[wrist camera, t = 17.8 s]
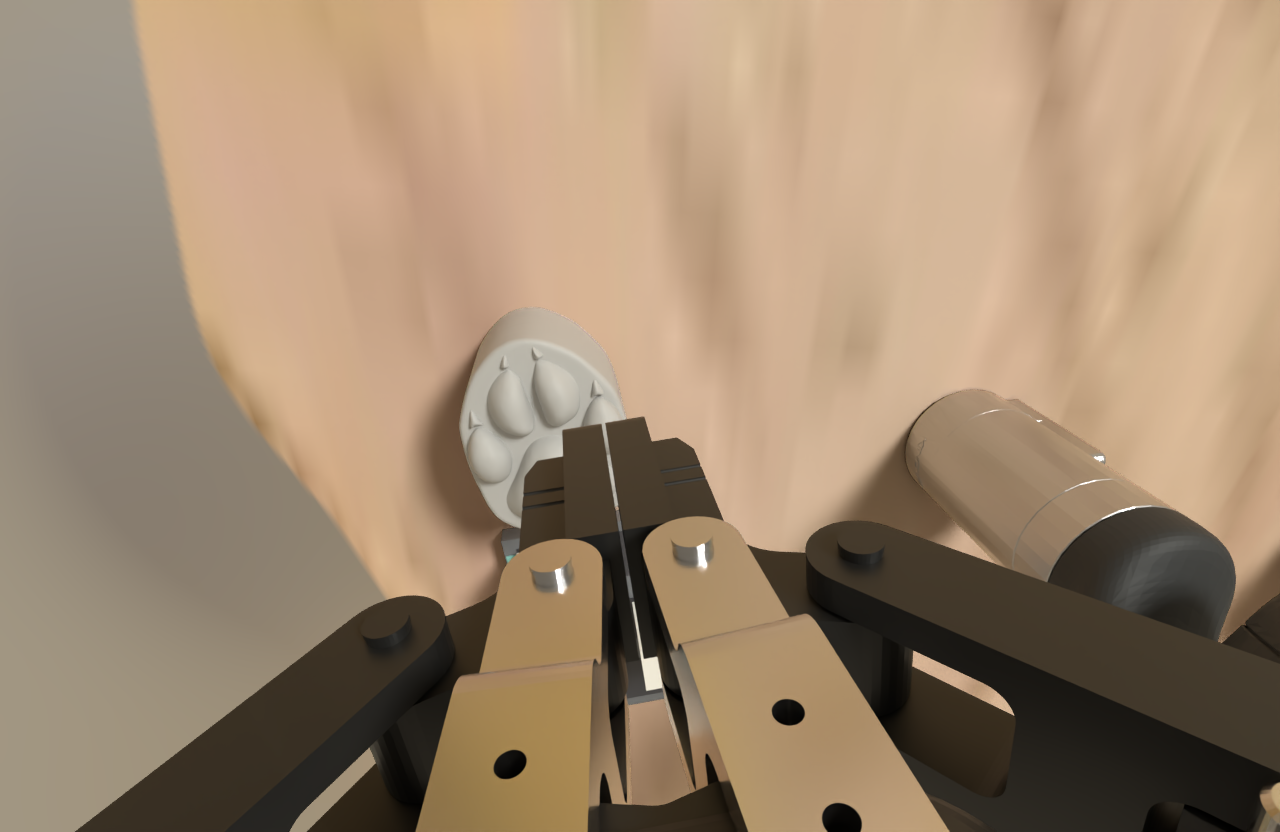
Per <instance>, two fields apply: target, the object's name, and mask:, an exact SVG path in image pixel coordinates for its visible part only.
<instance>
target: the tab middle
mask: <svg viewBox="0 0 1280 832" xmlns="http://www.w3.org/2000/svg"><path fill="white" fill-rule="evenodd" d="M632 605H633V612H634V618H635V624H636V630H637V636H638V643H639V649H640V655H641V661H642V667H643V673H644V680H645V686H646V691H648V690H654V689H659V688H663V687H662V681H661V674H660V669H659V664H658V658H657V657H653V658H647V659H644V658H643V652H642V646H641V640H640V634H639V628H638V622H637V616H636V610H635V604H634V602H632Z"/></svg>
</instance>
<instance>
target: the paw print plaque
mask: <svg viewBox="0 0 1280 832" xmlns="http://www.w3.org/2000/svg"><path fill="white" fill-rule="evenodd" d="M625 419H627V418H626V414H625V410H624V406H623V402H622V397H621V393H620V389H619V385H618V382H617V378H616V375H615V372H614V369H613V366H612V364H611V361H610V359H609V357H608V355H607V353H606V352H605V350H604V349H603V348H602V346H601V345H600V344H599V343H598V342H597V341H596V340H595V339H594V338H593V337H592V336H591V335H590V334H589V333H588V332H586V331H585V330H584V329H583V328H582V327H581V326H579V325H578V324H577V323H576V322H574V321H573V320H571V319H569V318H567V317H565V316H563V315H561V314H559V313H556V312H554V311H551V310H547V309H544V308H538V307H525V308H520V309H516V310H514V311H511V312H509V313H507V314H506V315H504V316H503V317H502V318H500V319H499V320H498V321H497V322H496V323H495V324H494V326H493V327H492V328H491V329H490V330H489V332H488V333H487V335H486V336H485V338H484V339H483V341H482V343H481V345H480V347H479V350H478V353H477V356H476V359H475V363H474V366H473V369H472V372H471V376H470V379H469V382H468V385H467V389H466V392H465V396H464V400H463V404H462V409H461V414H460V421H459V431H460V437H461V441H462V445H463V449H464V453H465V456H466V459H467V462H468V465H469V467H470V470H471V473H472V475H473V477H474V479H475V482H476V483H477V485H478V487H479V489H480V491H481V493H482V495H483V497H484V499H485V501H486V503H487V505H488V506H489V508H490V509H491V511H492V512H493V513H494V514H495V516H496V517H497V518H499V519H500V520H502V521H503V522H505V523H507V524H509V525H511V526H514V527H516V528H520V529H521V516H522V510H523V509H522V503H523V497H524V495H523V489H524V477H525V475H526V474H527V473H528V472H529V470H530V469H531V468H532V467H533V465H534V464H535V463H536V461H538V460H544V459H550V458H556V457H562V456H563V440H562V430H564V429H570V428H577V427H583V426H589V425H595V424H602V430H603V436H604V442H605V448H606V454H607V460H608V467H609V473H610V479H611V485H612V491H613V497H614V504H615V507H617V506H618V501H617V495H616V488H615V482H614V476H613V470H612V463H611V457H610V451H609V445H608V438H607V432H606V426H605V423H607V422H613V421H619V420H625Z"/></svg>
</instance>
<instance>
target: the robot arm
mask: <svg viewBox="0 0 1280 832" xmlns="http://www.w3.org/2000/svg"><path fill="white" fill-rule="evenodd" d="M605 426H606V432H607V438H608V445H609V451H610V457H611V463H612V470H613V476H614V482H615V488H616V495H617V501H618V507H619V513H620V520H621V526H622V532H623V538H624V544H625V550H626V556H627V562H628V568H629V574H630V580H631V586H632V592H633V598H634V604H635V610H636V616H637V622H638V628H639V634H640V640H641V646H642V652H643V658H644V659H647V658H653V657H657V658H658V664H659V669H660V674H661V681H662V687H663V694H664V700H665V705H666V708H667V712H668V715H669V719H670V722H671V726H672V729H673V733H674V736H675V740H676V743H677V746H678V750H679V753H680V757H681V760H682V764H683V767H684V771H685V774H686V778H687V781H688V785H689V788H690V791H691V793H690V794H688V795H686V796H684V797H681V798H679V799H677V800H675V801H673V802H670V803H668V804H664V805H659V806H644V805H632V791H631V762H630V732H629V708H628V702H627V696H626V693H627V689H628V674H627V667H626V663H627V662H632V661H638V660H639V655H638V648H637V642H636V636H635V629H634V623H633V617H632V610H631V604H630V598H629V592H628V585H627V579H626V573H625V566H624V560H623V554H622V547H621V541H620V535H619V528H618V522H617V516H616V510H615V504H614V497H613V491H612V485H611V479H610V473H609V467H608V460H607V454H606V448H605V442H604V436H603V430H602V424H595V425H589V426H583V427H577V428H570V429H564V430H562V440H563V456H562V457H556V458H550V459H544V460H538V461H536V463H535V464H534V465H533V467H532V468H531V469H530V470H529V472H528V473H527V474H526V475H525V477H524V489H523V495H524V497H523V503H522V509H523V510H522V516H521V530H520V543H519V553H518V554H517V555H516V556H515V557H513V558H512V559H511V560H510V561H509V562H508V564H507V565H506V566H505V568H504V570H503V572H502V575H501V579H500V584H499V588H498V592H497V593H495V594H494V595H492V596H491V597H489V598H487V599H486V600H484V601H482V602H480V603H478V604H476V605H473V606H471V607H468V608H466V609H463V610H461V611H458V612H456V613H453V614H451V615H448V616H445V613H444V610H443V608H442V607H441V605H440V604H439V603H438V602H436V601H435V600H433V599H431V598H427V597H424V596H402V597H396V598H392V599H388V600H386V601H383V602H380V603H377V604H375V605H373V606H371V607H369V608H367V609H365V610H364V611H362V612H361V613H359V614H358V615H356V616H355V617H353V618H352V619H351V620H349V621H348V622H347V623H346V624H344V625H343V626H342V627H340V628H339V629H338V630H336V631H335V632H334V633H332V634H331V635H330V636H329V637H327V638H326V639H325V640H323V641H322V642H321V643H319V644H318V645H317V646H316V647H314V648H313V649H312V650H310V651H309V652H308V653H307V654H305V655H304V656H303V657H301V658H300V659H299V660H297V661H296V662H295V663H294V664H292V665H291V666H290V667H288V668H287V669H286V670H284V671H283V672H282V673H280V674H279V675H278V676H277V677H275V678H274V679H273V680H271V681H270V682H269V683H267V684H266V685H265V686H264V687H262V688H261V689H260V690H259V691H257V692H256V693H255V694H253V695H252V696H251V697H249V698H248V699H247V700H245V701H244V702H243V703H242V704H240V705H239V706H238V707H236V708H235V709H234V710H233V711H231V712H230V713H229V714H227V715H226V716H225V717H223V718H222V719H221V720H220V721H218V722H217V723H216V724H214V725H213V726H212V727H210V728H209V729H208V730H206V731H205V732H204V733H203V734H201V735H200V736H199V737H197V738H196V739H195V740H194V741H192V742H191V743H190V744H188V745H187V746H186V747H184V748H183V749H182V750H180V751H179V752H178V753H177V754H175V755H174V756H173V757H171V758H170V759H169V760H167V761H166V762H165V763H164V764H162V765H161V766H160V767H158V768H157V769H156V770H154V771H153V772H152V773H151V774H149V775H148V776H147V777H145V778H144V779H143V780H142V781H140V782H139V783H138V784H136V785H135V786H134V787H133V788H131V789H130V790H129V791H127V792H126V793H125V794H123V795H122V796H121V797H119V798H118V799H117V800H116V801H114V802H113V803H112V804H110V805H109V806H108V807H107V808H105V809H104V810H103V811H101V812H100V813H99V814H97V815H96V816H95V817H93V818H92V819H91V820H90V821H88V822H87V823H86V824H84V825H83V826H82V827H80V828H79V829H78V830H77V831H75V832H289V831H290V829H291V828H292V826H293V824H294V823H295V821H296V819H297V818H298V817H299V815H300V814H301V813H302V812H303V811H304V810H305V809H306V808H307V807H308V806H309V805H310V804H311V803H312V802H313V801H314V800H315V799H316V798H317V797H318V796H319V795H320V794H321V793H322V792H323V791H324V790H325V789H326V788H327V787H328V786H330V784H332V783H333V782H334V781H335V780H336V779H337V778H338V777H339V776H340V775H341V774H342V773H343V772H344V771H345V770H346V769H347V768H348V767H349V766H350V765H351V764H352V763H353V762H355V761H356V760H357V759H358V757H360V756H361V755H362V754H363V753H364V752H365V751H366V750H367V749H368V748H369V747H370V750H371V752H372V754H373V757H374V759H375V762H376V764H375V765H374V766H373V767H372V768H371V769H370V770H369V771H368V772H367V773H366V774H365V775H364V776H363V777H362V778H361V779H360V780H359V781H357V783H355V785H353V786H352V788H351V789H349V790H348V791H347V792H346V793H345V794H344V795H343V796H342V797H341V798H340V799H339V800H338V802H337V803H335V804H334V805H333V806H332V807H331V808H330V809H329V810H328V811H327V812H326V813H325V814H324V815H323V816H322V817H321V818H320V819H319V820H318V821H317V822H316V823H315V824H314V825H313V826H312V827H311V828H310V829H309V830H308V831H307V832H1280V594H1279V595H1277V596H1276V597H1274V598H1273V599H1272V600H1270V601H1269V602H1268V603H1266V604H1265V605H1264V606H1263V607H1261V608H1260V609H1259V610H1258V611H1257V612H1256V613H1255V614H1253V615H1252V616H1251V617H1250V618H1249V619H1248V620H1247V621H1246V625H1241V626H1240V627H1239V628H1238V629H1237V630H1236V631H1235V632H1234V633H1233V634H1232V635H1230V636H1229V637H1228V638H1227V639H1226V640H1225V641H1224V642H1223V643H1219V642H1218V639H1219V636H1220V632H1221V629H1222V627H1223V624H1224V621H1225V619H1226V616H1227V613H1228V610H1229V608H1230V606H1231V603H1232V599H1233V596H1234V591H1235V584H1236V575H1235V567H1234V563H1233V560H1232V558H1231V556H1230V553H1229V552H1228V550H1227V549H1226V547H1225V546H1224V545H1223V544H1222V543H1221V542H1220V541H1219V539H1218V538H1217V537H1215V536H1214V535H1213V534H1211V533H1210V532H1209V531H1207V530H1206V529H1205V528H1203V527H1202V526H1200V525H1199V524H1197V523H1196V522H1194V521H1192V520H1191V519H1189V518H1188V517H1186V516H1185V515H1183V514H1181V513H1179V512H1178V511H1176V510H1175V509H1173V508H1172V507H1170V506H1169V505H1167V504H1166V503H1164V502H1163V501H1161V500H1159V499H1158V498H1156V497H1155V496H1153V495H1152V494H1150V493H1149V492H1147V491H1145V490H1144V489H1142V488H1141V487H1139V486H1137V485H1136V484H1134V483H1133V482H1131V481H1130V480H1128V479H1126V478H1125V477H1123V476H1122V475H1120V474H1119V473H1117V472H1116V471H1114V470H1112V469H1111V468H1109V467H1108V466H1106V465H1105V462H1106V458H1105V455H1104V454H1103V453H1102V452H1101V451H1100V450H1098V449H1097V448H1095V447H1093V446H1092V445H1090V444H1089V443H1087V442H1085V441H1084V440H1082V439H1081V438H1079V437H1077V436H1076V435H1074V434H1073V433H1071V432H1069V431H1068V430H1066V429H1065V428H1063V427H1061V426H1060V425H1058V424H1057V423H1055V422H1053V421H1052V420H1050V419H1049V418H1047V417H1045V416H1044V415H1042V414H1041V413H1039V412H1037V411H1036V410H1034V409H1033V408H1031V407H1029V406H1028V405H1026V404H1025V403H1023V402H1021V401H1020V400H1018V399H1015V400H1005V399H1002V398H1001V397H999V396H997V395H996V394H994V393H991V392H988V391H984V390H966V391H960V392H957V393H954V394H951V395H948V396H946V397H945V398H943V399H941V400H939V401H937V402H936V403H935V404H933V405H932V406H931V407H930V408H928V409H927V410H926V411H925V412H924V413H923V414H922V416H921V417H920V418H919V419H918V420H917V422H916V423H915V425H914V427H913V428H912V430H911V432H910V435H909V438H908V440H907V445H906V451H905V455H906V464H907V467H908V470H909V472H910V474H911V475H912V477H913V478H914V480H915V481H916V482H917V483H918V484H919V485H920V486H921V487H922V488H923V489H924V490H925V491H926V492H927V493H928V494H929V495H930V496H931V497H932V498H933V499H934V500H935V501H936V502H937V503H938V505H939V506H940V507H941V508H942V509H943V510H944V511H945V512H946V513H947V514H948V515H949V516H950V517H951V518H952V519H953V520H954V521H955V522H956V523H957V524H958V525H959V526H960V527H961V528H962V529H963V530H964V531H965V532H966V533H967V534H968V535H969V536H970V538H971V539H972V540H973V541H974V542H975V543H976V544H977V545H978V546H979V547H980V548H981V549H982V550H983V551H984V552H985V553H986V554H987V555H988V556H989V557H990V558H991V559H992V560H993V561H994V562H995V563H996V564H994V563H991V562H988V561H985V560H982V559H980V558H977V557H974V556H971V555H968V554H965V553H962V552H960V551H957V550H954V549H951V548H948V547H945V546H943V545H940V544H937V543H934V542H931V541H928V540H925V539H923V538H920V537H917V536H914V535H911V534H908V533H905V532H903V531H900V530H897V529H894V528H891V527H888V526H885V525H882V524H878V523H873V522H867V521H844V522H838V523H833V524H830V525H827V526H825V527H823V528H821V529H819V530H818V531H816V532H815V533H814V534H813V535H812V536H811V537H810V538H809V540H808V542H807V544H806V553H797V552H776V551H768V550H762V549H759V548H755V547H752V546H750V545H747V544H746V542H745V541H744V539H743V537H742V535H741V534H740V533H739V531H738V530H737V529H736V528H735V527H734V526H732V525H731V524H729V523H727V522H725V521H724V520H723V518H722V515H721V513H720V511H719V508H718V506H717V503H716V501H715V499H714V496H713V494H712V491H711V489H710V487H709V484H708V482H707V479H706V478H705V475H704V472H703V470H702V467H700V463H699V460H698V458H697V455H696V453H695V451H694V449H693V448H692V447H690V446H689V445H687V444H686V443H684V442H683V441H681V440H680V439H678V438H671V439H665V440H659V441H653V442H652V441H651V438H650V434H649V431H648V428H647V424H646V421H645V418H644V417H638V418H632V419H625V420H619V421H613V422H607V423H605ZM913 650H914V651H916V652H918V653H920V654H922V655H924V656H927V657H929V658H931V659H933V660H935V661H937V662H939V663H941V664H944V665H946V666H948V667H950V668H952V669H954V670H956V671H959V672H961V673H963V674H965V675H967V676H969V677H971V678H974V679H976V680H978V681H980V682H982V683H984V684H986V685H988V686H989V687H991V688H992V689H994V690H995V691H996V692H998V693H999V694H1000V695H1001V696H1002V697H1003V698H1004V699H1005V700H1006V701H1007V703H1008V704H1009V705H1010V707H1011V709H1012V711H1013V713H1014V715H1015V716H1013V715H1011V714H1009V713H1007V712H1005V711H1003V710H1001V709H999V708H997V707H995V706H993V705H991V704H989V703H987V702H984V701H982V700H980V699H978V698H976V697H974V696H972V695H970V694H968V693H966V692H964V691H962V690H960V689H958V688H956V687H954V686H952V685H949V684H947V683H945V682H943V681H941V680H939V679H937V678H935V677H933V676H931V675H929V674H927V673H925V672H923V671H921V670H919V669H916V668H914V667H912V661H913Z"/></svg>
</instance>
